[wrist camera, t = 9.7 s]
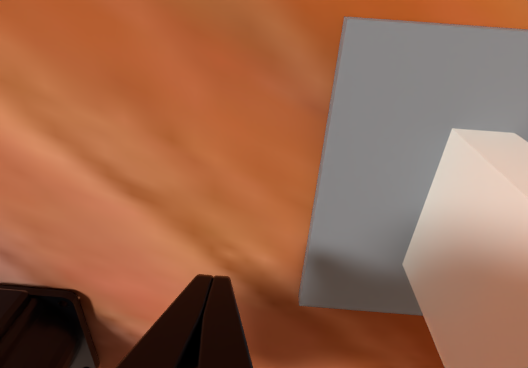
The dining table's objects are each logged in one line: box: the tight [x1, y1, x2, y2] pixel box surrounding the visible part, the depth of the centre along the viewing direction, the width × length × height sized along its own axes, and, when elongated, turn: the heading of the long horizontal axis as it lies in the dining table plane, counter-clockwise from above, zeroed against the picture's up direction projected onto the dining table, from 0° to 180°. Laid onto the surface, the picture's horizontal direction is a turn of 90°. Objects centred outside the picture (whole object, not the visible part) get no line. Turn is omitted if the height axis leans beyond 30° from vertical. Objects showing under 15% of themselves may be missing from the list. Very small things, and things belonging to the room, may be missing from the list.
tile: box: [402, 128, 528, 368], centre depth 10 cm, size 6×2×7 cm, turn 177°
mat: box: [299, 17, 528, 316], centre depth 13 cm, size 12×14×1 cm
